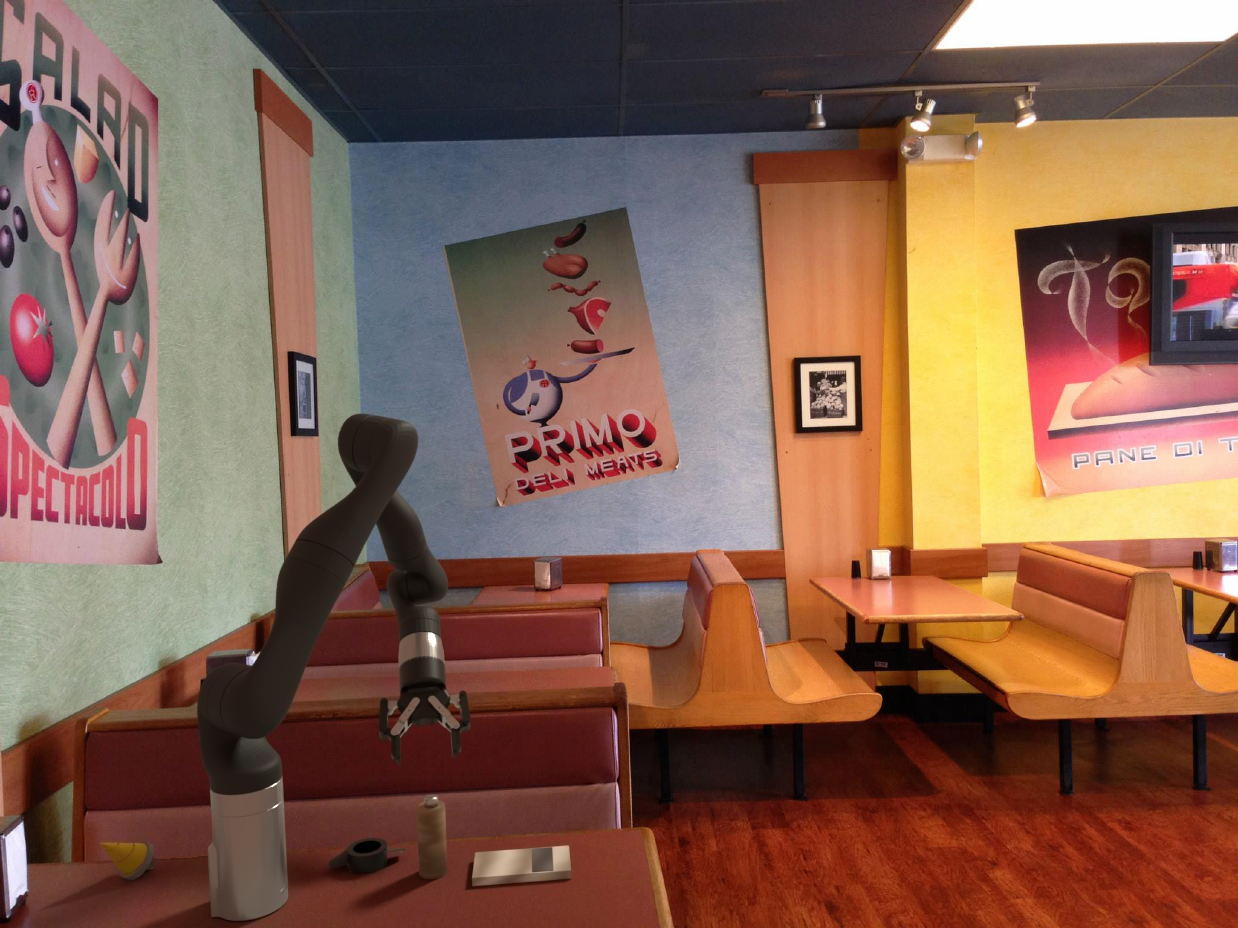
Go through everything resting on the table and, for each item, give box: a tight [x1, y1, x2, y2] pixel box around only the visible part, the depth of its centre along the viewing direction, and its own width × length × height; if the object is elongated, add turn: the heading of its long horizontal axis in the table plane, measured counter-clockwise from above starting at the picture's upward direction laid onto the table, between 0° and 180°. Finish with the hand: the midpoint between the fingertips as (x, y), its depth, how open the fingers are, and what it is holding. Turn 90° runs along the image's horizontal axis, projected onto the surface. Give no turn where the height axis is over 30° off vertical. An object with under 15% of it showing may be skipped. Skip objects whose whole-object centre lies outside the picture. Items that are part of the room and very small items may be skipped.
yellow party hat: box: [100, 840, 159, 881], centre depth 134 cm, size 5×5×10 cm
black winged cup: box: [328, 837, 406, 875], centre depth 137 cm, size 8×10×3 cm
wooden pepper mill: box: [416, 794, 448, 880], centre depth 133 cm, size 4×4×11 cm
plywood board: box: [471, 845, 572, 887], centre depth 134 cm, size 14×8×1 cm, turn 96°
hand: (427, 758), depth 142 cm, fingers open, 8 cm apart
